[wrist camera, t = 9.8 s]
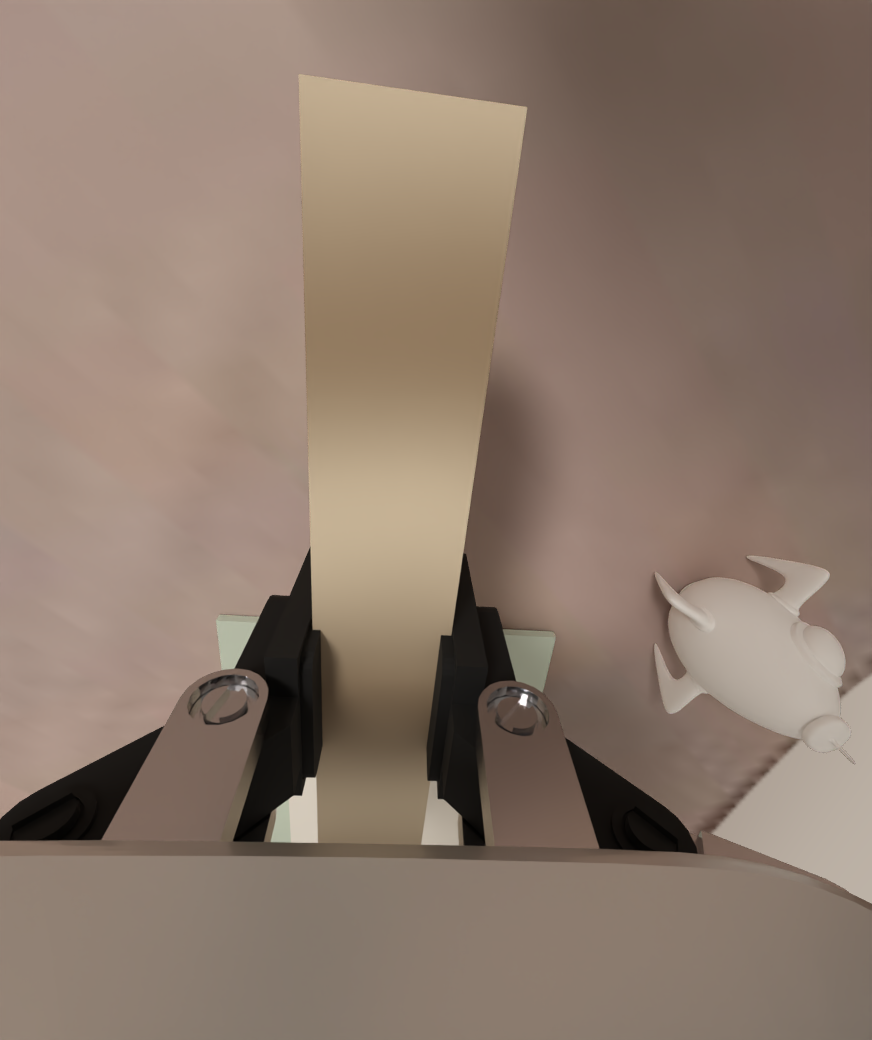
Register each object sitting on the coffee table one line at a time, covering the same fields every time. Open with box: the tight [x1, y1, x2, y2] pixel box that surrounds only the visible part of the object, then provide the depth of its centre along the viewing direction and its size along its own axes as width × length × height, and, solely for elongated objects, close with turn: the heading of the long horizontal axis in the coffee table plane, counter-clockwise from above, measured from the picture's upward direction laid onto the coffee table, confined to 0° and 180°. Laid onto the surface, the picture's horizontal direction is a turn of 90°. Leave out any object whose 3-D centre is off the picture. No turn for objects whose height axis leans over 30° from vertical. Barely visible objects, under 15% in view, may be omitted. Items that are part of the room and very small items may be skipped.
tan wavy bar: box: [299, 74, 527, 845], centre depth 11 cm, size 18×2×4 cm, turn 175°
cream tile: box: [289, 777, 459, 845], centre depth 22 cm, size 2×8×10 cm
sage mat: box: [216, 615, 556, 842], centre depth 23 cm, size 15×14×1 cm
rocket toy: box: [654, 555, 855, 764], centre depth 17 cm, size 5×5×8 cm
